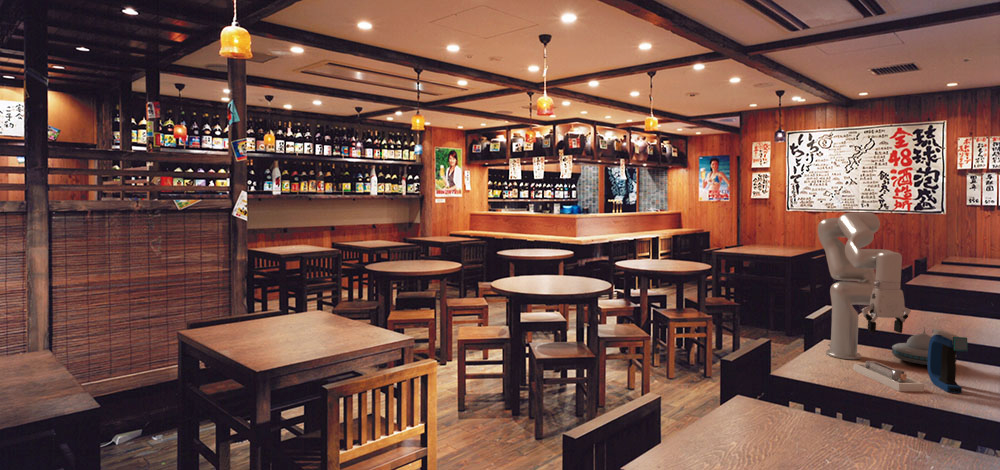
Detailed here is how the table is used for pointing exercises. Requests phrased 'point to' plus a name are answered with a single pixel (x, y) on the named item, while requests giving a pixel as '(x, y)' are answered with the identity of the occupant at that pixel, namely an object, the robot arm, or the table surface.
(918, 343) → the toy
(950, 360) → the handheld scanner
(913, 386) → the tongs rest
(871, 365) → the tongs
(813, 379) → the table surface
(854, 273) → the robot arm
